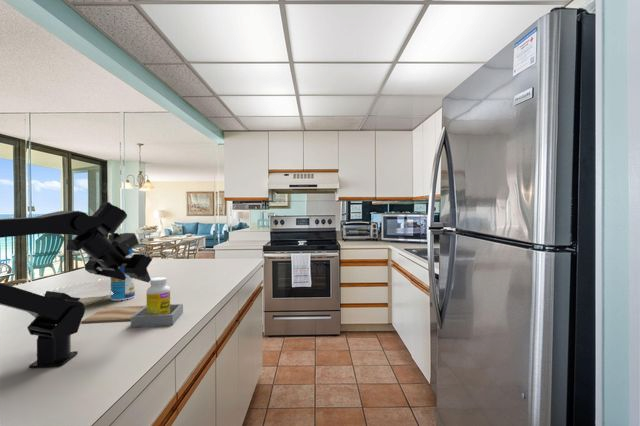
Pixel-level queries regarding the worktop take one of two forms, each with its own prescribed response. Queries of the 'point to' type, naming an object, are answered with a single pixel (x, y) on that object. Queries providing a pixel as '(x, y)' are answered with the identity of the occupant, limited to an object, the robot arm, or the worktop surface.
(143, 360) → the worktop surface
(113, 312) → the tan cardboard sheet
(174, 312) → the bin
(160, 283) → the supplement bottle
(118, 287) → the beverage bottle
